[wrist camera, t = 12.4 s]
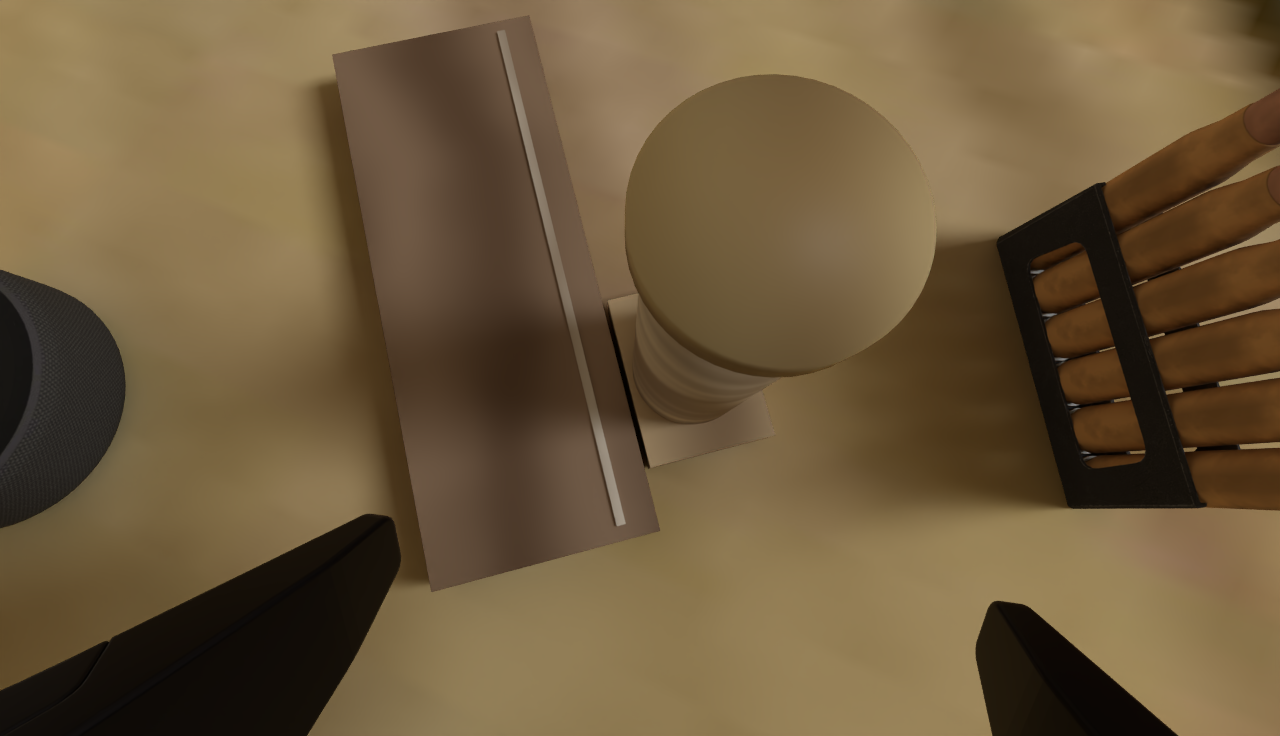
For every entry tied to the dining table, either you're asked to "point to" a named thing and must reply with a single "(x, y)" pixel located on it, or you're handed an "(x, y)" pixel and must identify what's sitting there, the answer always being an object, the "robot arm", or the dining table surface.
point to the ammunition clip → (1159, 324)
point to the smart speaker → (52, 395)
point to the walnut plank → (489, 305)
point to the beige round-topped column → (761, 254)
